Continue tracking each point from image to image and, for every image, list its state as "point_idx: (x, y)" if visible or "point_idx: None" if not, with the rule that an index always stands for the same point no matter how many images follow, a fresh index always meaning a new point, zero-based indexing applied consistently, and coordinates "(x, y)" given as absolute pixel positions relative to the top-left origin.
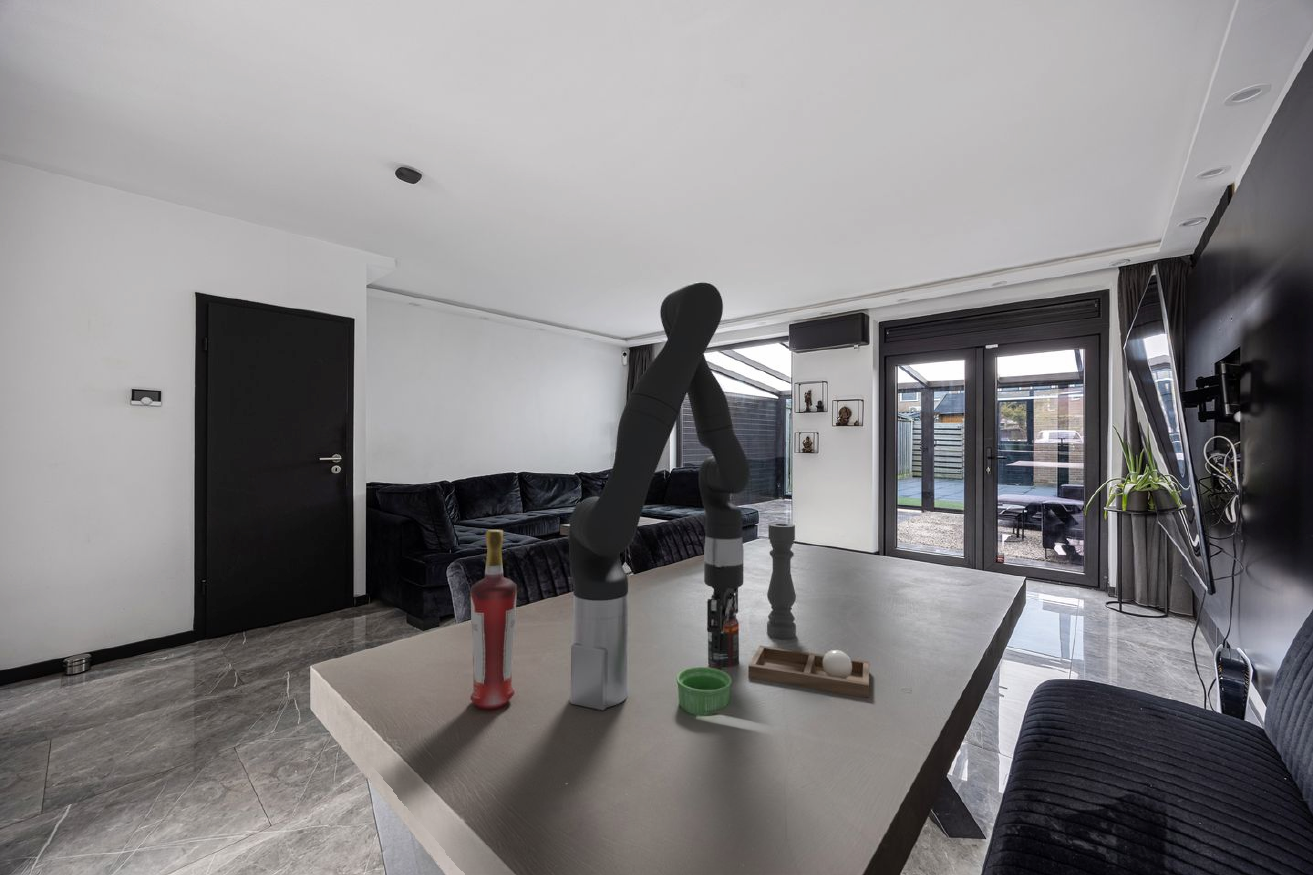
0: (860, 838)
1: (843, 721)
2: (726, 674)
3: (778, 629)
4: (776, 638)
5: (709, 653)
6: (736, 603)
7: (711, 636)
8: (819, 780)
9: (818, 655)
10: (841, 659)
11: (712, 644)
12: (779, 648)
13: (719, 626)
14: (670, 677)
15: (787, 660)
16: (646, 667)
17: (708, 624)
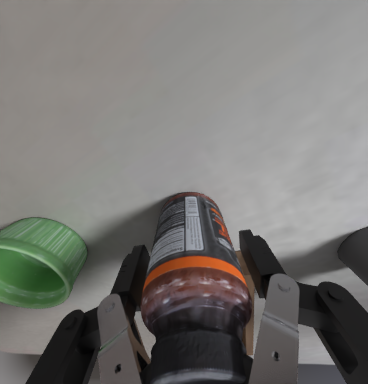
0: (20, 350)
1: (139, 331)
2: (64, 297)
3: (366, 272)
4: (348, 253)
5: (162, 217)
6: (338, 368)
7: (150, 259)
8: (45, 334)
9: (247, 328)
10: None
11: (130, 261)
12: (252, 296)
13: (71, 365)
14: (72, 159)
15: None
16: (59, 68)
17: (48, 351)
